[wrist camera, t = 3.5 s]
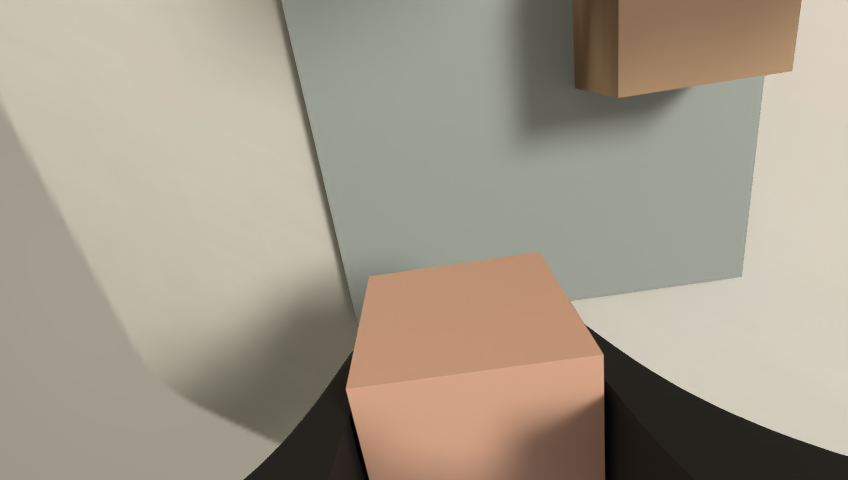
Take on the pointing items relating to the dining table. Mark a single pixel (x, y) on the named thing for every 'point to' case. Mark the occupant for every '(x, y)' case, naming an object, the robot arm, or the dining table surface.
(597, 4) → the walnut block
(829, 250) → the dining table surface
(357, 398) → the terracotta cube
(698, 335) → the dining table surface
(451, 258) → the slate board
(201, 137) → the dining table surface
